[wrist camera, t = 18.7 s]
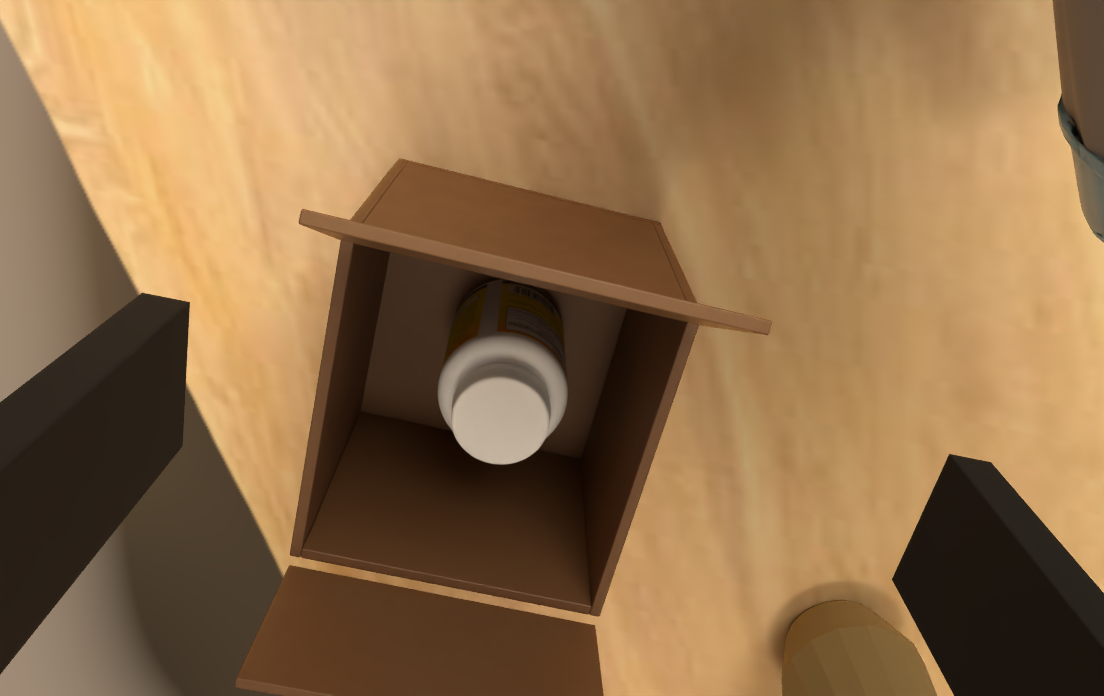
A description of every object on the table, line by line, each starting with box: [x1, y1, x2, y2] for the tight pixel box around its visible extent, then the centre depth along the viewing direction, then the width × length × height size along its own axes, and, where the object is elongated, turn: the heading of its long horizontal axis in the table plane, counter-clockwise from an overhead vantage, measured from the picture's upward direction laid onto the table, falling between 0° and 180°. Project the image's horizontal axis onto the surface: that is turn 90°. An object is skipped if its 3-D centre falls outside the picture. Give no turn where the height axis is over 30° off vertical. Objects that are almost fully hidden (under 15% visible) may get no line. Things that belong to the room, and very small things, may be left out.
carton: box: [235, 159, 699, 696], centre depth 36 cm, size 15×13×19 cm
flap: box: [299, 209, 772, 335], centre depth 26 cm, size 7×13×1 cm
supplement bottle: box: [438, 279, 568, 464], centre depth 39 cm, size 6×6×10 cm
